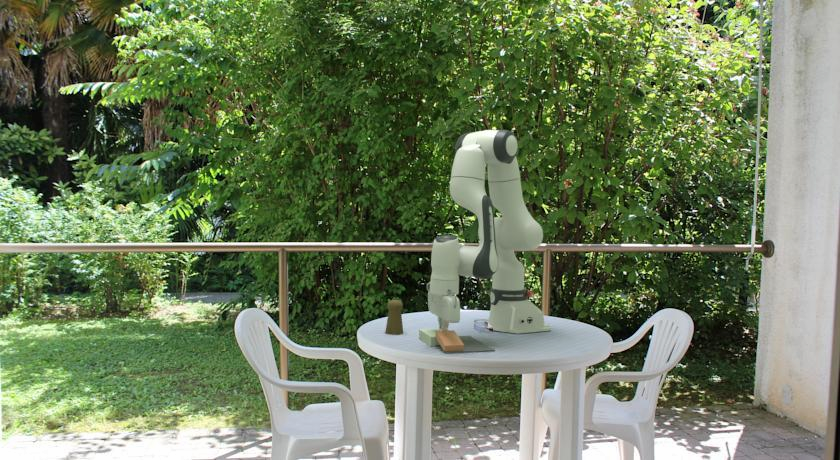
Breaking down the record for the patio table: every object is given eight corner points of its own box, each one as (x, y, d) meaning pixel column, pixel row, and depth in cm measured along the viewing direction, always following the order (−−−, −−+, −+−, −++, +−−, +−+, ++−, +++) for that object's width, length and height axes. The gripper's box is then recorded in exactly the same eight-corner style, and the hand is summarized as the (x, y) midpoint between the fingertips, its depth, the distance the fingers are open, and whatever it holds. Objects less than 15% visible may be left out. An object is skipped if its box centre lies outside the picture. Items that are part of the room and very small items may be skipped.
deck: (445, 337, 235) (445, 328, 235) (457, 345, 224) (458, 335, 223) (418, 338, 232) (419, 329, 232) (430, 346, 221) (430, 337, 221)
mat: (469, 336, 237) (469, 335, 237) (495, 351, 217) (495, 349, 217) (423, 338, 232) (423, 337, 232) (445, 353, 212) (445, 352, 212)
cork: (399, 335, 236) (400, 302, 236) (382, 333, 238) (383, 300, 238) (405, 332, 242) (406, 299, 241) (389, 330, 244) (390, 298, 243)
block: (453, 336, 223) (454, 330, 222) (463, 350, 215) (464, 344, 214) (435, 336, 221) (436, 331, 220) (444, 351, 213) (445, 345, 212)
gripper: (466, 292, 213) (464, 338, 214) (443, 283, 233) (442, 325, 234) (446, 293, 211) (444, 339, 212) (425, 283, 231) (423, 326, 232)
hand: (443, 332), depth 223 cm, fingers closed
